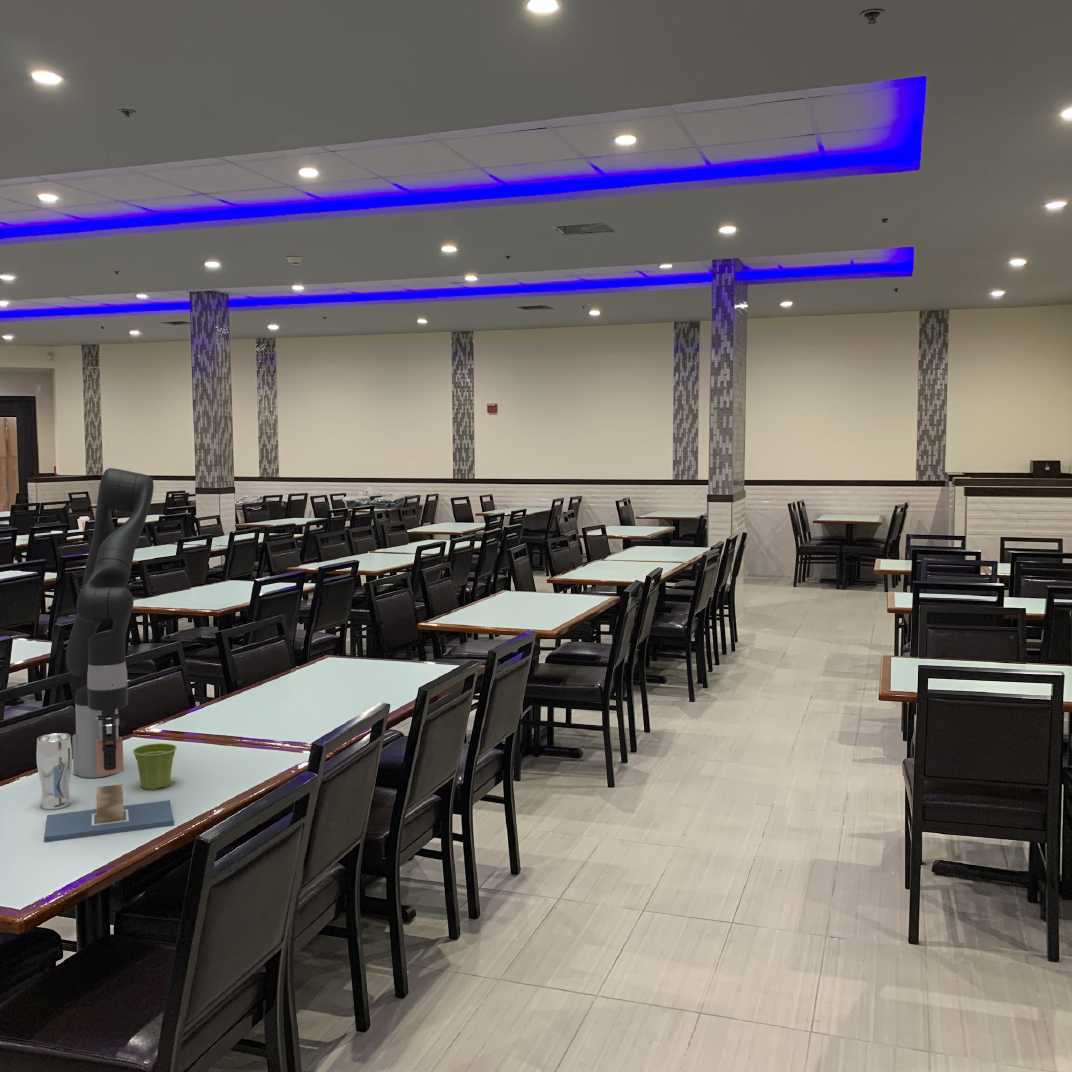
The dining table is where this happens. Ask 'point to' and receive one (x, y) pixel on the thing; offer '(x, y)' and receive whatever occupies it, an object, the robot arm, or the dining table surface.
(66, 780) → the beer glass
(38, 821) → the dining table surface
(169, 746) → the plant pot
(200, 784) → the dining table surface
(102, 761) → the terracotta block
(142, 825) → the board
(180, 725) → the dining table surface
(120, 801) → the maple block
